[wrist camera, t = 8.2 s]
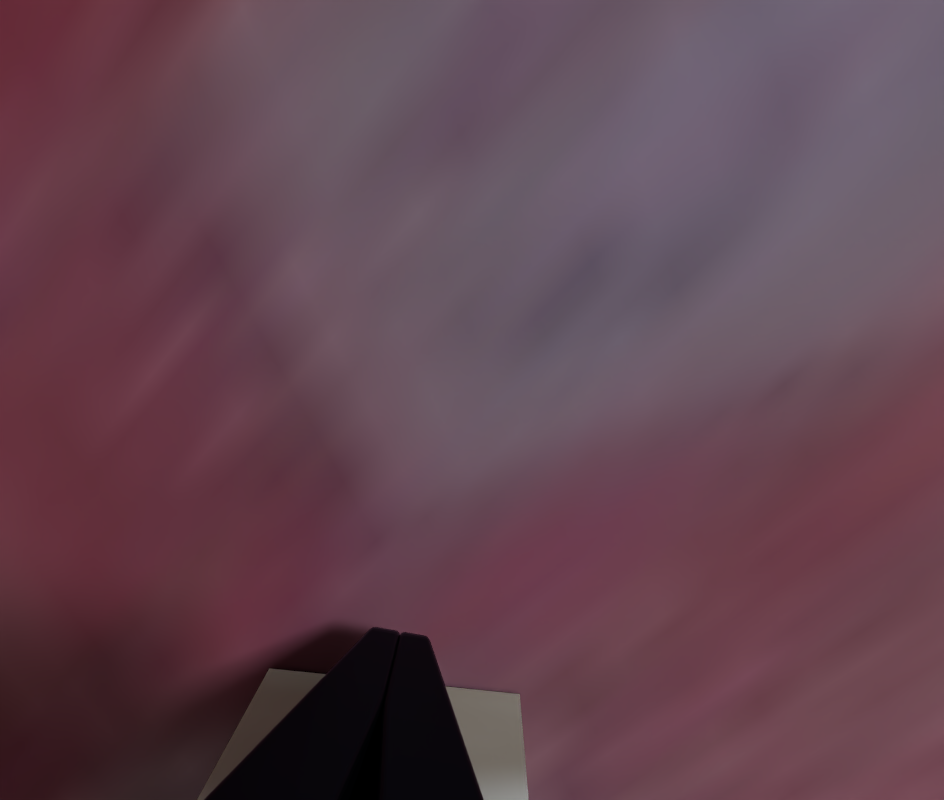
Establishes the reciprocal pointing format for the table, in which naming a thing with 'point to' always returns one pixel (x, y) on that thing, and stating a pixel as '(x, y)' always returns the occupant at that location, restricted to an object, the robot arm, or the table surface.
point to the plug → (477, 712)
